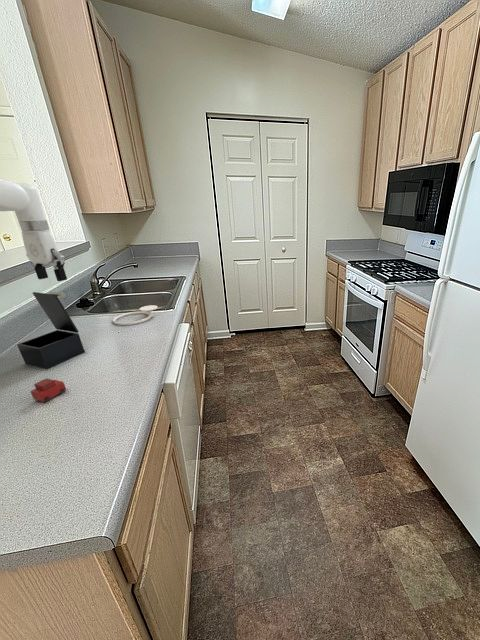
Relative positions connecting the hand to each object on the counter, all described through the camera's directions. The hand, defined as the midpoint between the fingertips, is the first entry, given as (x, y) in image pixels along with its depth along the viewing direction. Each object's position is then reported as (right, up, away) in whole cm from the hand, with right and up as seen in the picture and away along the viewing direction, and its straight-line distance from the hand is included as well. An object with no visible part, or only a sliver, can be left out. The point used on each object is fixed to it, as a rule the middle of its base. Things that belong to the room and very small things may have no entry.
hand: (52, 279), depth 116 cm
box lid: (-1, -12, +3) cm, 12 cm away
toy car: (+13, -39, -18) cm, 45 cm away
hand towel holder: (+9, -9, +43) cm, 44 cm away
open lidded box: (-3, -28, +5) cm, 28 cm away
